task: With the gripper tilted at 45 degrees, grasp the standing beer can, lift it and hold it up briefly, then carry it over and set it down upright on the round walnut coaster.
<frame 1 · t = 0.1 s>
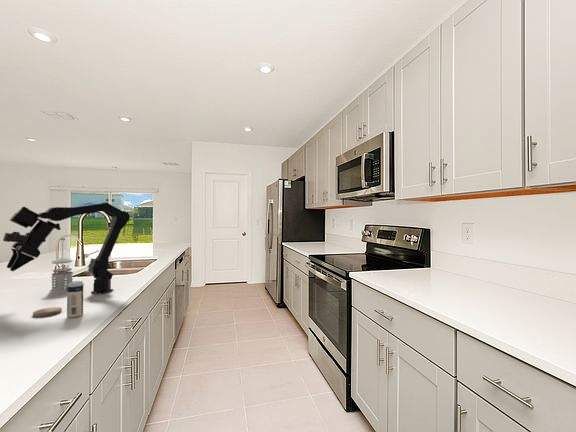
hand: (9, 269, 109), 15 cm above the countertop, tool tilted 35°, fingers open, 9 cm apart
beer can: (75, 316, 101), on the countertop
walnut coaster: (47, 313, 103), on the countertop
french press: (62, 290, 135), on the countertop
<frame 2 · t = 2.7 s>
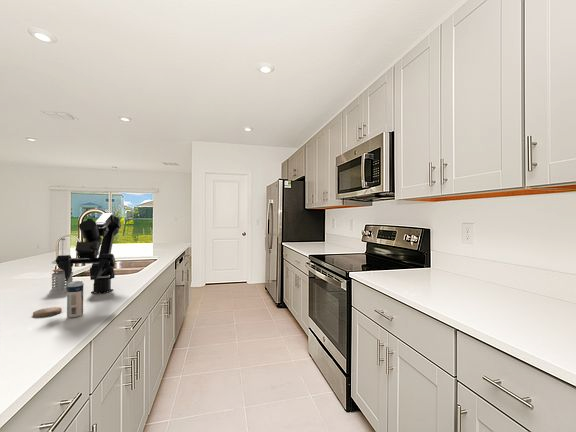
hand: (81, 279, 106), 12 cm above the countertop, tool tilted 45°, fingers open, 9 cm apart
nothing on the countertop moved.
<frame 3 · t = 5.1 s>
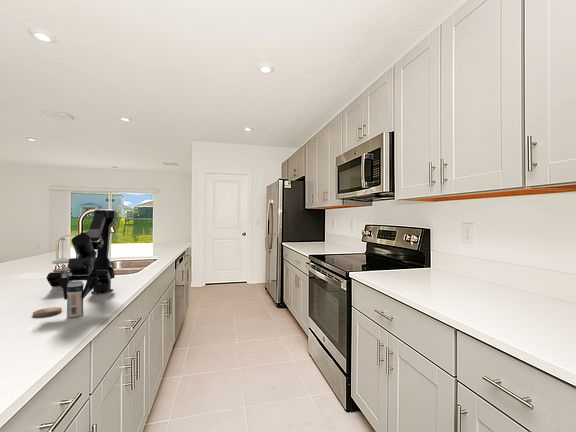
hand: (73, 298, 100), 7 cm above the countertop, tool tilted 45°, fingers closed on beer can, 5 cm apart
beer can: (75, 316, 101), on the countertop, touching gripper
everything else where it was.
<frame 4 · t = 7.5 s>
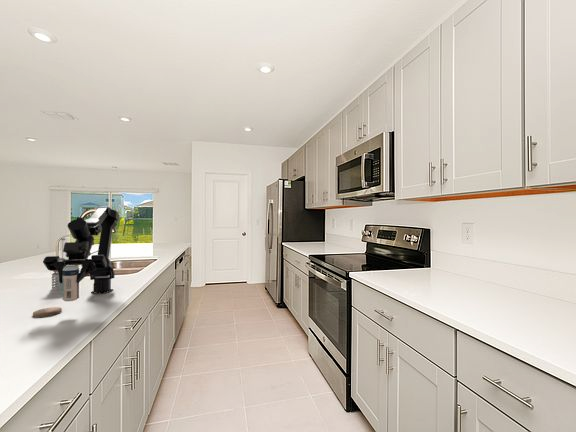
hand: (69, 282, 100), 12 cm above the countertop, tool tilted 45°, fingers closed on beer can, 5 cm apart
beer can: (70, 300, 101), point 5 cm above the countertop, touching gripper
everything else where it was.
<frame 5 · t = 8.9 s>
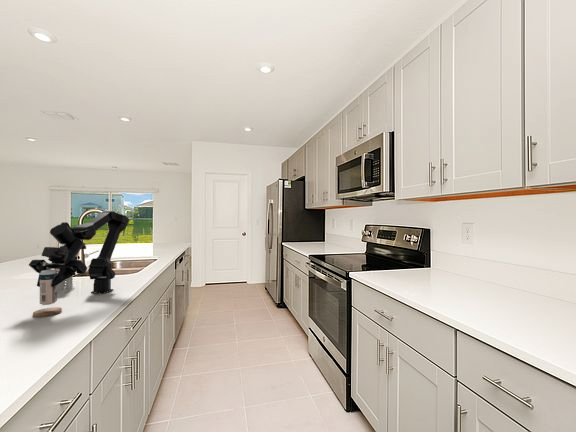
hand: (45, 286, 102), 10 cm above the countertop, tool tilted 45°, fingers closed on beer can, 5 cm apart
beer can: (48, 303, 103), point 3 cm above the countertop, touching gripper
everything else where it was.
when the fingers open (9 cm above the countertop, at t = 10.0 s): beer can stays where it is, resting on walnut coaster.
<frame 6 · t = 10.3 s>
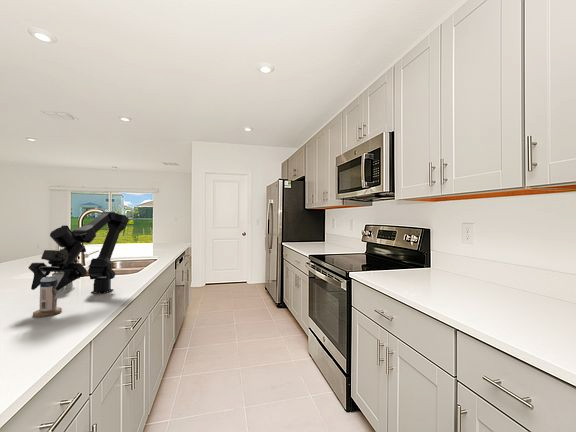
hand: (44, 289, 102), 9 cm above the countertop, tool tilted 45°, fingers open, 9 cm apart
beer can: (48, 310, 103), point 1 cm above the countertop, touching walnut coaster
everything else where it was.
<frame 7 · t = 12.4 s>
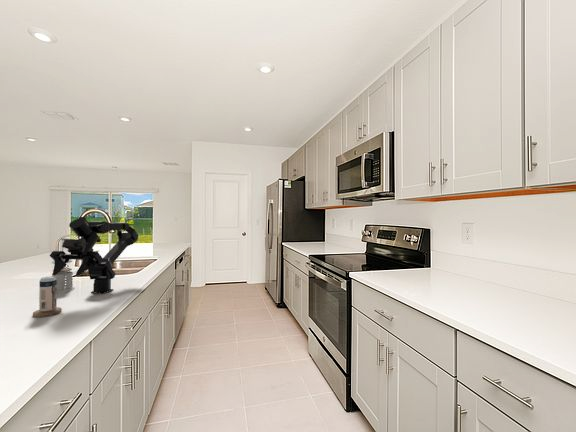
hand: (65, 275, 111), 12 cm above the countertop, tool tilted 45°, fingers open, 9 cm apart
nothing on the countertop moved.
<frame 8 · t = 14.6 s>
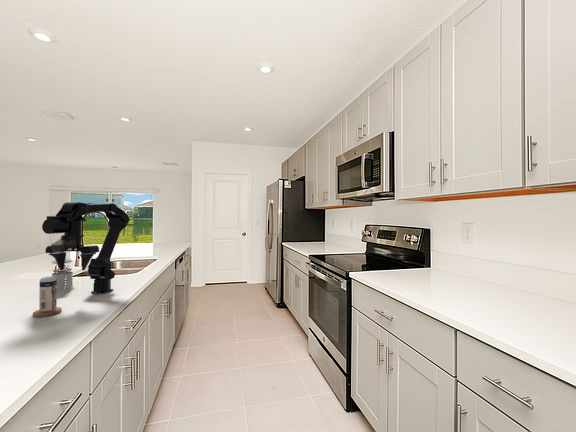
hand: (72, 270, 118), 13 cm above the countertop, tool pointing down, fingers open, 9 cm apart
nothing on the countertop moved.
at the end: beer can 0.2 cm off-centre on the walnut coaster, point 0.8 cm above the walnut coaster's base; beer can tilted 1°; the gripper is holding nothing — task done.
